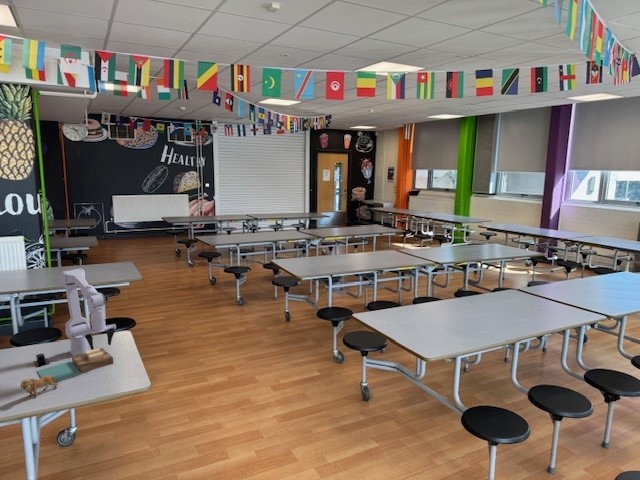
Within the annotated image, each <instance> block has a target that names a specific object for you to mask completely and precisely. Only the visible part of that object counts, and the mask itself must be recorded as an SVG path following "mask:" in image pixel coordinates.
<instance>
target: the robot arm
mask: <svg viewBox="0 0 640 480" xmlns="http://www.w3.org/2000/svg"><path fill="white" fill-rule="evenodd" d="M59 280H60V285H61V288H64V290H65V292H66V299H67V304H68V305H67V306H68V310H69V316H70V319H69V320H68V321H66V323H65V325H64V326H65V329H64V330H65V335H66V337H68V339H69V342H70V343H69V344H70V350H68V351H69V354H70V355H71V356H75V355H79V354H82V353H85V351H89V350H94V349H95V348H94V343H93V342H94V341H93V340H94V338H93V335H94V334H99V333H103V332H106V336H107V337H106V338H107V345H108V346H111V345H112V341H113V340H112V339H113V337H114V334H115V330H116V329H117V325H116V324H115V323H112V324H107V325H106V316H105V308H104V306H105V305H106V297H105V294H103V293H102V292H98V291H97V290H96V289H95V287H94V286H93V285H92V284H89V283H88V282H87V280H86V272H85V270H84V269H83V268H82V267H79V268H76V269H71V270H65V271H61V272H60V274H59ZM77 287H78V288H79V289H80V293H81V295H82V296H83V298H84V299H85V300H86V304H87V307H88V311H89V313H90V320H91V322H90V323H91V326H90V324H89V320H88V319H87V318H86V317H83V316H82V311H81V306H80V299H79V294H78V288H77ZM89 347H90V349H89Z"/></svg>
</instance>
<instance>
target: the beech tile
mask: <svg viewBox="0 0 640 480" xmlns="http://www.w3.org/2000/svg"><path fill="white" fill-rule="evenodd" d="M99 349H100V348H99V347H96V348H94V350H91V349H89V351H85V356H86V357H87V358H88V359H89V360H90V361H93V360H96V359H100V358H103V357H104V353H103V352H102V351H101V350H99Z"/></svg>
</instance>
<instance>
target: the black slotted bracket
mask: <svg viewBox="0 0 640 480" xmlns="http://www.w3.org/2000/svg"><path fill="white" fill-rule="evenodd" d="M35 358H36V360H34V361H32V363H33V364H34V365H35V368H41V367H45V366H47V365H50V362H49V361H48V359H47V358H46V357H45V354H44V353H39V354H35Z"/></svg>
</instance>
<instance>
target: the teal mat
mask: <svg viewBox="0 0 640 480" xmlns="http://www.w3.org/2000/svg"><path fill="white" fill-rule="evenodd" d="M36 372H37V373H38V375H39V377H40V378H42V377H44V376H47V375H50V376H52V377H53V378H54V380H55V382H56V383H57V382H61V381H64V380H67V379H69V378H73V377H76V376H80V375H81V374H82V373H81V372H80V370H79V369H78V368H77V367H76V366H75V365H74V363H73V362H72V360H70V361H66V362H63V363H59V364H56V365H53V366H49V367H45V368H42V369H38V370H36Z"/></svg>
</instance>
